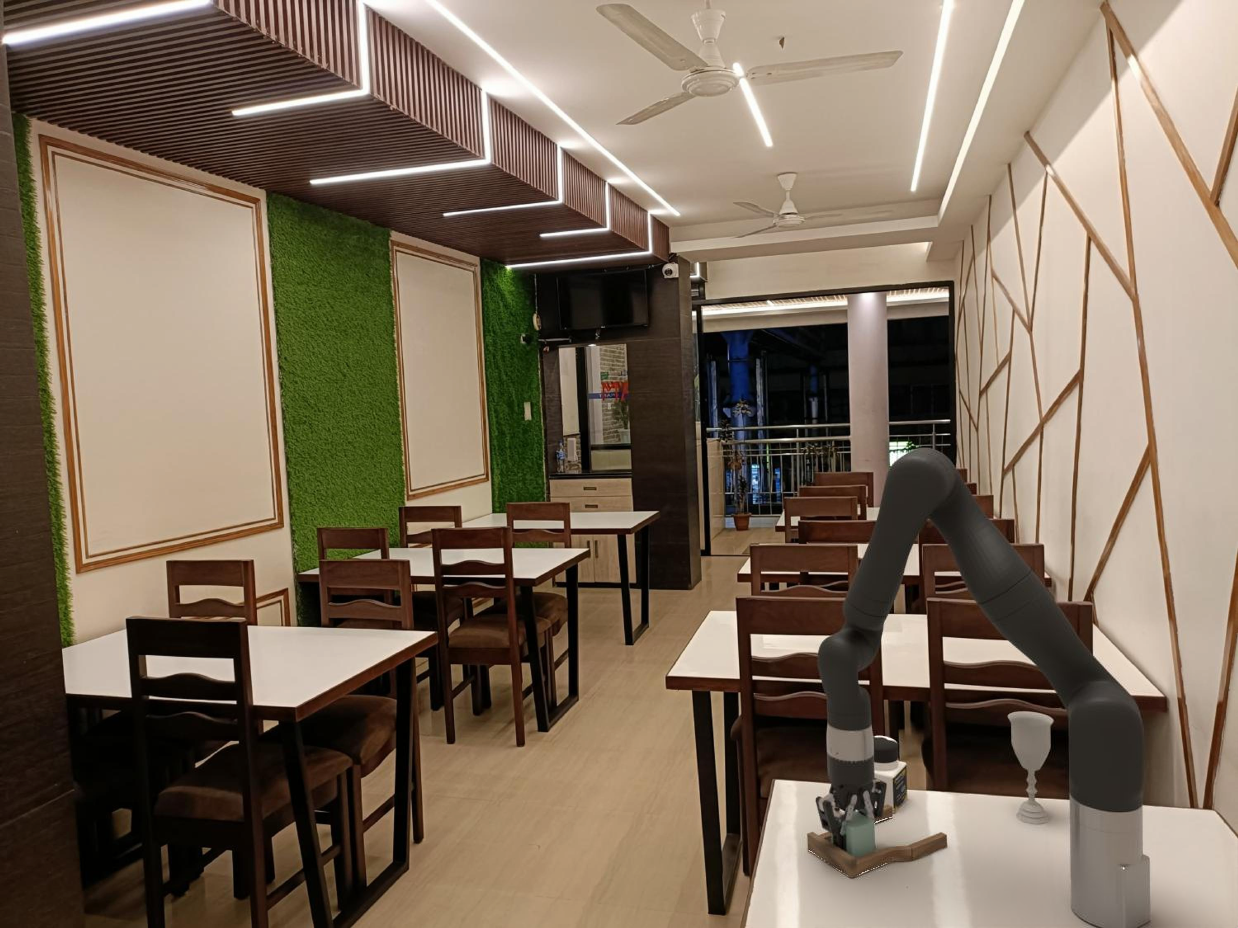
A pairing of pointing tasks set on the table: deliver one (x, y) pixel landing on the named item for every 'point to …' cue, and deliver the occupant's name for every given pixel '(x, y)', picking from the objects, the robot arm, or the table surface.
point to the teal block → (859, 835)
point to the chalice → (1031, 756)
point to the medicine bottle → (890, 771)
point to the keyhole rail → (856, 866)
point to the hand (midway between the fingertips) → (853, 847)
